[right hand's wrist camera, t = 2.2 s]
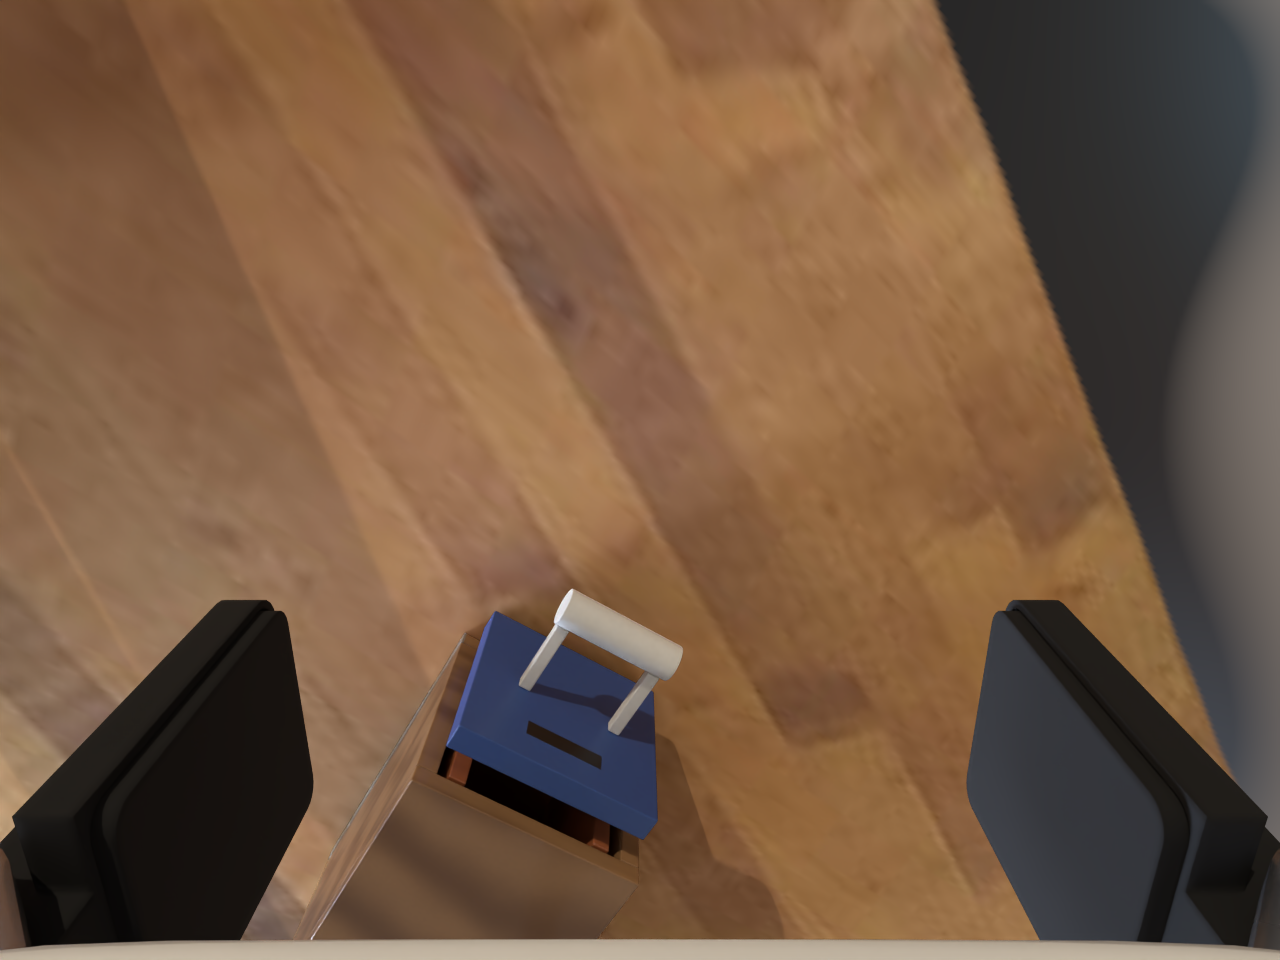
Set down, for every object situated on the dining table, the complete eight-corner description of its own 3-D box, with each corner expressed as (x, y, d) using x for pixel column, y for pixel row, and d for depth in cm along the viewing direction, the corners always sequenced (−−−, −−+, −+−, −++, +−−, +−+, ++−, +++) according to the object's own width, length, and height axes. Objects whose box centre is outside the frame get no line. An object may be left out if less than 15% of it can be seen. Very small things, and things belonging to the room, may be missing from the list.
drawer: (546, 526, 41) (522, 625, 32) (709, 614, 42) (728, 730, 34) (365, 820, 47) (303, 969, 38) (513, 887, 48) (487, 1044, 40)
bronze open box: (465, 632, 44) (411, 779, 33) (639, 720, 46) (639, 885, 35) (332, 848, 49) (249, 1035, 38) (495, 919, 50) (458, 1116, 40)
